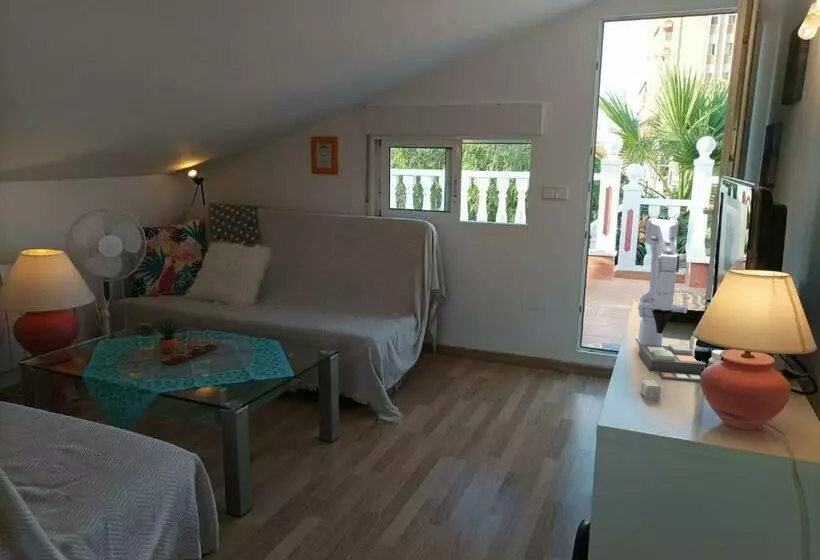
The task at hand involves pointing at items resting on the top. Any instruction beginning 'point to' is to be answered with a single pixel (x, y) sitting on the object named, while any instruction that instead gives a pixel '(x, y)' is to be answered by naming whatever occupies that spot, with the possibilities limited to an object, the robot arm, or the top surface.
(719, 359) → the pill bottle
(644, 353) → the keyguard pad
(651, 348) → the ivory key
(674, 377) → the strip
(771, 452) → the top surface
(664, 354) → the sage key
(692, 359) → the terracotta key
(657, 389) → the usb wall charger
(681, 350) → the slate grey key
